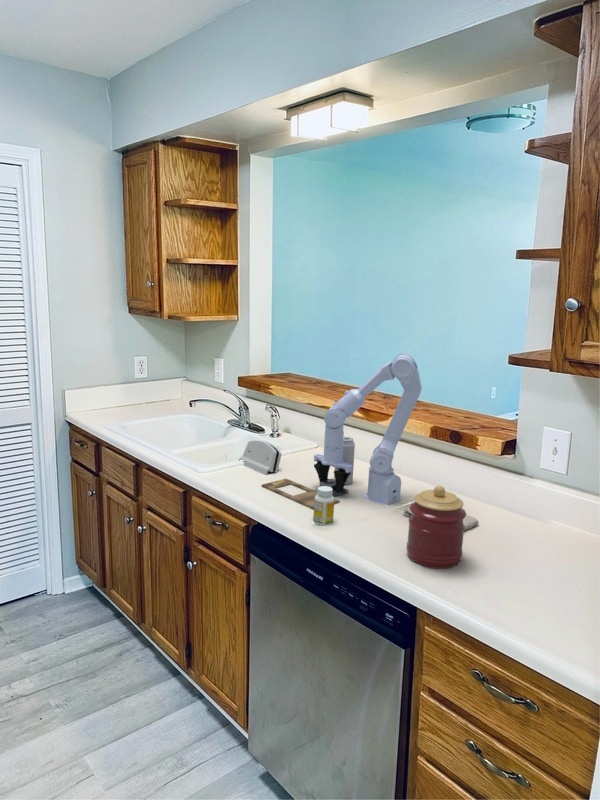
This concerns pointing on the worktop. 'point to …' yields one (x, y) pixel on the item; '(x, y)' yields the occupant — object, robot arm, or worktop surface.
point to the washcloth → (467, 521)
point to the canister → (436, 528)
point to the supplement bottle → (323, 506)
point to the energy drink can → (348, 456)
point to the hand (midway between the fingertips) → (331, 489)
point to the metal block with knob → (330, 484)
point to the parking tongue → (340, 493)
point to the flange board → (302, 498)
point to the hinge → (261, 457)
